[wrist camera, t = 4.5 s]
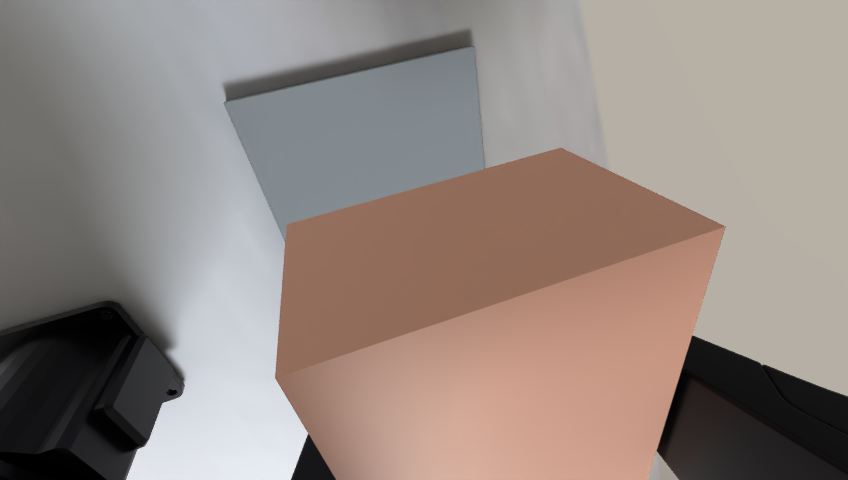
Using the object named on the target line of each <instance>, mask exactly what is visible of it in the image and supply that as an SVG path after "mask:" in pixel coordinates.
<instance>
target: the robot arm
mask: <svg viewBox="0 0 848 480" xmlns="http://www.w3.org/2000/svg"><path fill="white" fill-rule="evenodd" d="M103 311H107V312H110V313H111V314H110V315H109V314H106V313H104V312H103ZM184 386H185V385H184V383H183V382H182V380H181V379H180V378H179V377H178V375H177V374H176V373H175V372H174V369H173V367H172V366H171V365H170V364H169V362H168V361H167V360H166V359H165V358H164V356H163V355H162V354H161V353H160V351H159V350H158V349H157V348H156V346H155V345H154V344H153V343H152V341H151V340H150V339H149V338H148V337H147V336H145V335H144V334H143V332H142V331H141V330H140V329H139V328H138V326H137V325H136V324H135V323H134V321H133V320H132V319H131V318H130V316H129V315H128V314H127V313H126V312H125V310H124V309H123V308H122V307H121V306H120V305H119V304H118V303H115V302H111V301H104V302H100V303H97V304H93V305H90V306H86V307H83V308H79V309H76V310H72V311H69V312H65V313H62V314H58V315H55V316H51V317H48V318H45V319H41V320H38V321H34V322H31V323H27V324H24V325H20V326H17V327H13V328H10V329H6V330H3V331H0V480H126V478H127V475H128V473H129V470H130V467H131V465H132V462H133V460H134V457H135V454H136V452H137V449H139V448H142V447H144V446H145V445H146V444H147V442H148V440H149V438H150V435H151V432H152V430H153V427H154V424H155V421H156V419H157V416H158V413H159V410H160V408H161V405H162V403H164V402H167V401H170V400H173V399H176V398H178V397H180V396H181V395H182V393H183V390H184ZM173 389H174V390H173ZM657 452H658V453H659V454H660V456H661V457H662V458H663V460H664V461H665V462H666V463H667V465H668V466H669V467H670V469H671V470H672V471H673V473H674V474H675V475H676V476H677V478H678V479H679V480H848V396H845V395H842V394H840V393H837V392H834V391H831V390H828V389H826V388H823V387H820V386H818V385H815V384H812V383H810V382H807V381H805V380H802V379H800V378H797V377H794V376H792V375H789V374H787V373H784V372H782V371H779V370H777V369H774V368H772V367H769V366H767V365H761V364H760V363H759V362H757V361H754V360H752V359H749V358H747V357H744V356H742V355H739V354H737V353H735V352H732V351H730V350H727V349H725V348H722V347H719V346H717V345H715V344H712V343H710V342H708V341H705V340H703V339H700V338H698V337H695V336H693V335H692V337H691V341H690V344H689V347H688V350H687V354H686V357H685V360H684V363H683V367H682V370H681V373H680V376H679V380H678V383H677V386H676V389H675V393H674V396H673V399H672V402H671V406H670V409H669V412H668V415H667V418H666V422H665V425H664V428H663V431H662V435H661V438H660V441H659V444H658V448H657ZM291 480H336V479H335V477H334V475H333V474H332V472H331V470H330V469H329V467H328V465H327V464H326V462H325V460H324V459H323V457H322V455H321V454H320V452H319V450H318V449H317V447H316V445H315V444H314V442H313V440H312V439H311V437H310V435H309V434H308V436H307V438H306V441H305V444H304V446H303V449H302V452H301V454H300V457H299V460H298V462H297V465H296V468H295V470H294V473H293V476H292V478H291Z"/></svg>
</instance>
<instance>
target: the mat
mask: <svg viewBox="0 0 848 480" xmlns="http://www.w3.org/2000/svg"><path fill="white" fill-rule="evenodd" d="M224 105H225V107H226V109H227V112H228V114H229V116H230V118H231V121H232V123H233V125H234V127H235V130H236V132H237V134H238V137H239V139H240V141H241V143H242V146H243V148H244V150H245V152H246V155H247V157H248V159H249V161H250V164H251V166H252V168H253V170H254V173H255V175H256V177H257V180H258V182H259V184H260V186H261V189H262V191H263V193H264V195H265V198H266V200H267V202H268V204H269V207H270V209H271V211H272V213H273V216H274V218H275V220H276V222H277V225H278V227H279V229H280V232H281V234H282V236H283V238H284V241H286V228H287V224H289V223H293V222H296V221H300V220H304V219H307V218H311V217H314V216H318V215H322V214H325V213H329V212H332V211H336V210H340V209H343V208H347V207H350V206H354V205H358V204H361V203H365V202H368V201H372V200H375V199H379V198H383V197H386V196H390V195H393V194H397V193H401V192H404V191H408V190H411V189H415V188H419V187H422V186H426V185H429V184H433V183H437V182H440V181H444V180H447V179H451V178H455V177H458V176H462V175H465V174H469V173H472V172H476V171H480V170H483V169H485V168H484V157H483V146H482V134H481V123H480V111H479V100H478V89H477V77H476V66H475V54H474V46H466V47H462V48H458V49H453V50H449V51H444V52H440V53H435V54H431V55H427V56H422V57H418V58H413V59H409V60H404V61H400V62H396V63H391V64H387V65H382V66H378V67H373V68H369V69H365V70H360V71H356V72H351V73H347V74H342V75H338V76H334V77H329V78H325V79H320V80H316V81H311V82H307V83H303V84H298V85H294V86H289V87H285V88H280V89H276V90H272V91H267V92H263V93H258V94H254V95H249V96H245V97H241V98H236V99H232V100H227V101H225V102H224Z"/></svg>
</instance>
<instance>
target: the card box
mask: <svg viewBox="0 0 848 480" xmlns="http://www.w3.org/2000/svg"><path fill="white" fill-rule="evenodd" d="M724 230H725V226H723V225H721V224H719V223H717V222H715V221H713V220H711V219H708V218H707V217H705V216H702V215H700V214H698V213H696V212H694V211H692V210H690V209H688V208H686V207H684V206H681V205H680V204H677V203H675V202H673V201H671V200H669V199H667V198H665V197H663V196H661V195H658V194H657V193H655V192H652V191H650V190H648V189H646V188H644V187H642V186H640V185H638V184H635V183H634V182H631V181H629V180H627V179H625V178H623V177H621V176H619V175H617V174H615V173H613V172H611V171H609V170H607V169H604V168H602V167H600V166H598V165H596V164H594V163H592V162H590V161H588V160H586V159H584V158H581V157H579V156H577V155H575V154H573V153H571V152H569V151H567V150H565V149H563V148H559V149H555V150H551V151H548V152H544V153H541V154H537V155H534V156H530V157H526V158H523V159H519V160H516V161H512V162H508V163H505V164H501V165H498V166H494V167H490V168H487V169H483V170H480V171H476V172H472V173H469V174H465V175H462V176H458V177H455V178H451V179H447V180H444V181H440V182H437V183H433V184H429V185H426V186H422V187H419V188H415V189H411V190H408V191H404V192H401V193H397V194H393V195H390V196H386V197H383V198H379V199H375V200H372V201H368V202H365V203H361V204H358V205H354V206H350V207H347V208H343V209H340V210H336V211H332V212H329V213H325V214H322V215H318V216H314V217H311V218H307V219H304V220H300V221H296V222H293V223H289V224H287V228H286V241H285V254H284V268H283V281H282V294H281V308H280V321H279V334H278V348H277V361H276V374H275V379H276V380H277V382H278V384H279V385H280V387H281V389H282V390H283V392H284V394H285V395H286V397H287V399H288V400H289V402H290V404H291V405H292V407H293V409H294V410H295V412H296V414H297V415H298V417H299V419H300V420H301V422H302V424H303V425H304V427H305V429H306V430H307V432H308V434H309V435H310V437H311V439H312V440H313V442H314V444H315V445H316V447H317V449H318V450H319V452H320V454H321V455H322V457H323V459H324V460H325V462H326V464H327V465H328V467H329V469H330V470H331V472H332V474H333V475H334V477H335V479H336V480H648V477H649V474H650V470H651V467H652V464H653V461H654V457H655V454H656V451H657V448H658V444H659V441H660V438H661V435H662V431H663V428H664V425H665V422H666V418H667V415H668V412H669V409H670V406H671V402H672V399H673V396H674V393H675V389H676V386H677V383H678V380H679V376H680V373H681V370H682V367H683V363H684V360H685V357H686V354H687V350H688V347H689V344H690V341H691V337H692V334H693V331H694V328H695V324H696V321H697V318H698V315H699V312H700V308H701V305H702V302H703V299H704V295H705V292H706V289H707V285H708V282H709V279H710V276H711V273H712V269H713V266H714V263H715V260H716V256H717V253H718V250H719V247H720V244H721V240H722V237H723V234H724Z"/></svg>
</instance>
